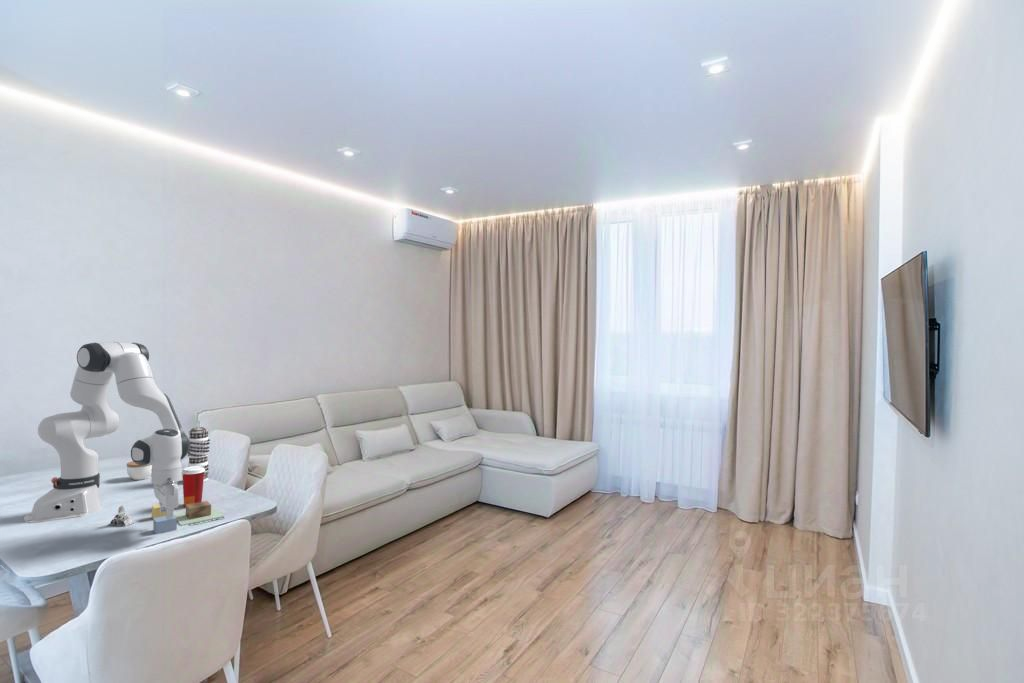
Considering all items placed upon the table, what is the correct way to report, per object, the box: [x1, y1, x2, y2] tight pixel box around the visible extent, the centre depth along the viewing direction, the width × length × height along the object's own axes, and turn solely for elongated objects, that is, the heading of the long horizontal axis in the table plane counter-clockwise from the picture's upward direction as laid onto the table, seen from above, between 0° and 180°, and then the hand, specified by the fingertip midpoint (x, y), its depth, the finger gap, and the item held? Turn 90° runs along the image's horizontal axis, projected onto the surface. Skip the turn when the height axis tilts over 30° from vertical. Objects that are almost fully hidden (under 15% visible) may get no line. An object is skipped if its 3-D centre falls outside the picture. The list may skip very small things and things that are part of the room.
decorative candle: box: [187, 426, 211, 483], centre depth 239 cm, size 9×9×25 cm
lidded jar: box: [126, 460, 152, 481], centre depth 240 cm, size 11×11×9 cm
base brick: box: [185, 500, 212, 519], centre depth 191 cm, size 7×6×4 cm
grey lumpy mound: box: [107, 505, 134, 528], centre depth 183 cm, size 9×9×8 cm
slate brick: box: [152, 513, 178, 535], centre depth 177 cm, size 6×5×5 cm
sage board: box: [173, 506, 225, 526], centre depth 191 cm, size 14×14×1 cm
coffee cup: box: [182, 466, 205, 507], centre depth 205 cm, size 8×8×15 cm
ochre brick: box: [151, 504, 166, 520], centre depth 189 cm, size 5×4×5 cm
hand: (166, 515), depth 177 cm, fingers open, 8 cm apart
